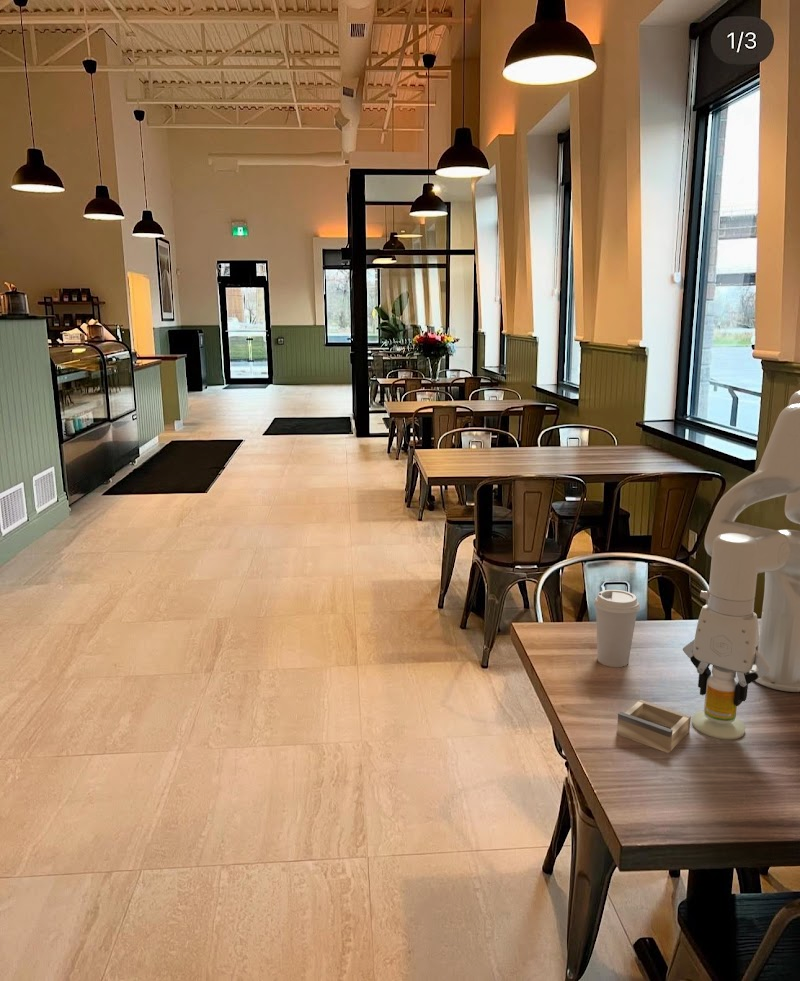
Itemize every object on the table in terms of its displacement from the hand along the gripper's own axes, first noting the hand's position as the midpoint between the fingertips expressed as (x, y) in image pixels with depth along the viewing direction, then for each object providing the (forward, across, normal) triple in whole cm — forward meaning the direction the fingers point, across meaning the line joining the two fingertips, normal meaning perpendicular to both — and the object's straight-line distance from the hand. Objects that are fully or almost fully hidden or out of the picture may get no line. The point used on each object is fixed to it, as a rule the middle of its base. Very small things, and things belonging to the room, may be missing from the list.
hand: (721, 696), depth 139 cm
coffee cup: (+6, -27, +13) cm, 30 cm away
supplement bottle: (+4, 0, 0) cm, 4 cm away
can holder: (+6, -8, -10) cm, 14 cm away
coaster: (+6, 0, 0) cm, 6 cm away
